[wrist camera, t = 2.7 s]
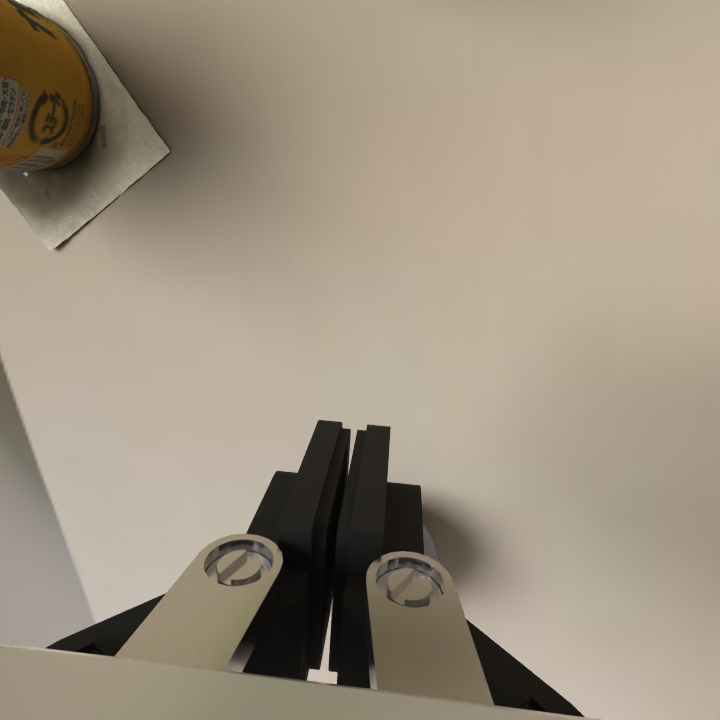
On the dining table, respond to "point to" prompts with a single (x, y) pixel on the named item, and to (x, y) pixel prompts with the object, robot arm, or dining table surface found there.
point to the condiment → (64, 121)
